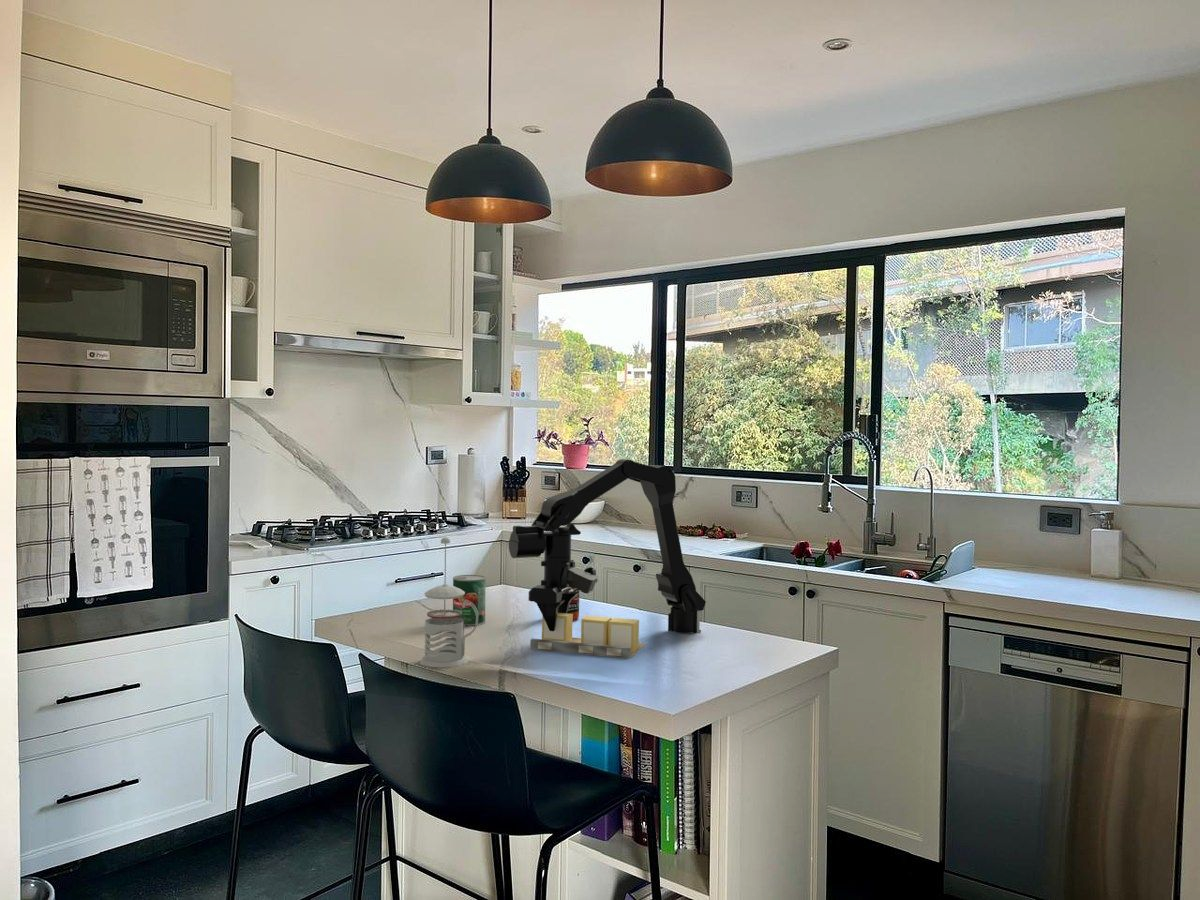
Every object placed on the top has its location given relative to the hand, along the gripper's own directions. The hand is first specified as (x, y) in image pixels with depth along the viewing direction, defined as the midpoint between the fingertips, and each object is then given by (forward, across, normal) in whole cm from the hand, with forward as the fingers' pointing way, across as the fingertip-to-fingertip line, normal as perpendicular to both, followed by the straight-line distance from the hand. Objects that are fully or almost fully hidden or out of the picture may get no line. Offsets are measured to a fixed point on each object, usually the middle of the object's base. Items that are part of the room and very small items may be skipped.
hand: (556, 628), depth 191 cm
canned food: (+4, +28, +9) cm, 30 cm away
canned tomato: (+4, +16, +28) cm, 33 cm away
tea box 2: (+3, 0, -15) cm, 15 cm away
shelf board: (+4, 0, -8) cm, 9 cm away
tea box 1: (+3, 0, -9) cm, 10 cm away
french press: (+4, -18, +16) cm, 25 cm away
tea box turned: (+3, 0, 0) cm, 3 cm away
